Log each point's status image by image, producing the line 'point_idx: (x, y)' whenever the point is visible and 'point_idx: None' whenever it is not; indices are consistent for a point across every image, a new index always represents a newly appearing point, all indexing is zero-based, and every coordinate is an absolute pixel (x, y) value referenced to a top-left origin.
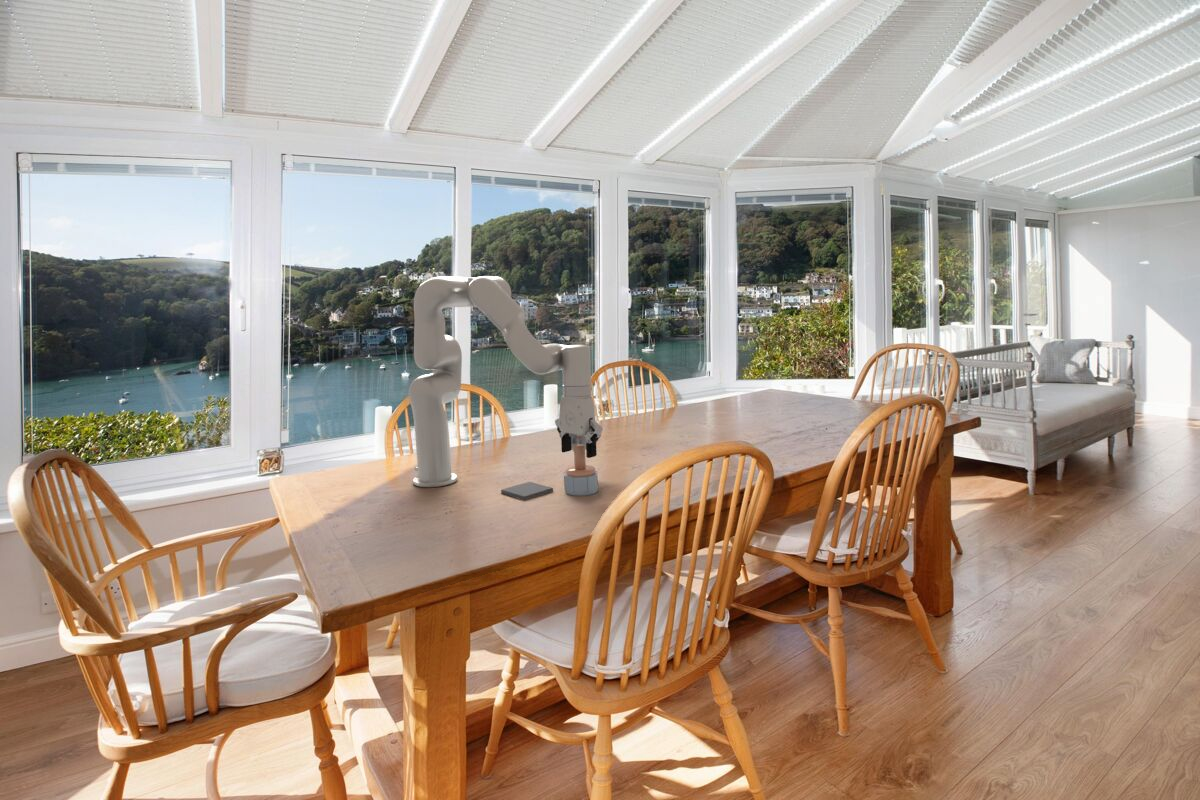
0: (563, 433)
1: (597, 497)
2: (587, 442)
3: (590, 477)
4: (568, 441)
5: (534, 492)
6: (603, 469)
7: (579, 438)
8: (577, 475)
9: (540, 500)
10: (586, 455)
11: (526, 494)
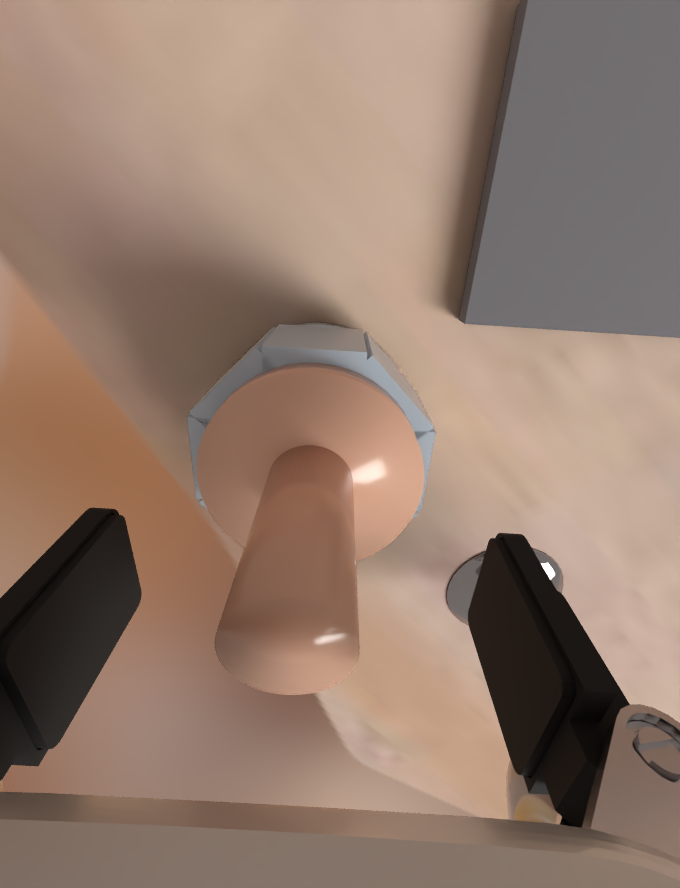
0: (619, 808)
1: (162, 380)
2: (509, 797)
3: (192, 439)
4: (511, 691)
5: (516, 147)
6: (464, 683)
7: None
8: (246, 384)
9: (401, 94)
10: (108, 522)
11: (544, 51)
